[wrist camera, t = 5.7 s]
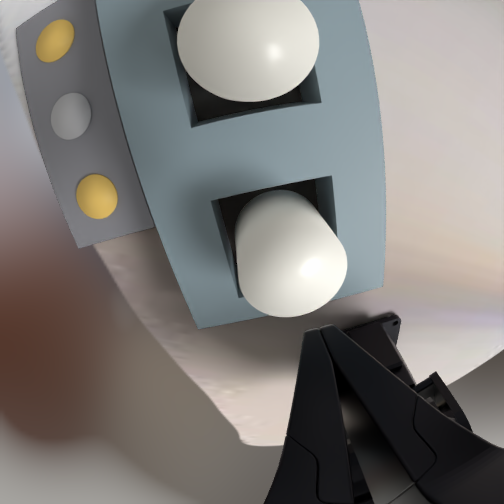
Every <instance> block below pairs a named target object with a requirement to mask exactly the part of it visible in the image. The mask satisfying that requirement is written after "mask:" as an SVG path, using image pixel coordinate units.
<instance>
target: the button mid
mask: <svg viewBox="0 0 504 504" xmlns="http://www.w3.org/2000/svg"><path fill="white" fill-rule="evenodd" d="M177 47H178V53H179V56H180V59H181V62H182V64H183V66H184V68H185V69H186V71H187V72H188V74H189V75H190V76H191V77H192V78H193V79H194V80H195V81H196V82H197V83H198V84H199V85H200V86H202V87H203V88H204V89H206V90H208V91H209V92H211V93H213V94H215V95H217V96H219V97H221V98H224V99H228V100H233V101H243V102H256V101H264V100H268V99H272V98H275V97H278V96H281V95H283V94H285V93H287V92H289V91H290V90H292V89H293V88H295V87H296V86H297V85H299V84H300V83H301V82H302V81H303V80H304V79H305V78H306V76H307V75H308V74H309V72H310V71H311V69H312V68H313V66H314V64H315V61H316V59H317V55H318V50H319V34H318V28H317V25H316V22H315V20H314V18H313V16H312V14H311V13H310V11H309V10H308V8H307V7H306V6H305V5H304V3H303V2H302V1H301V0H195V1H194V2H193V3H192V4H191V5H190V6H189V8H188V9H187V10H186V12H185V13H184V15H183V17H182V19H181V22H180V25H179V28H178V34H177Z"/></svg>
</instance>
